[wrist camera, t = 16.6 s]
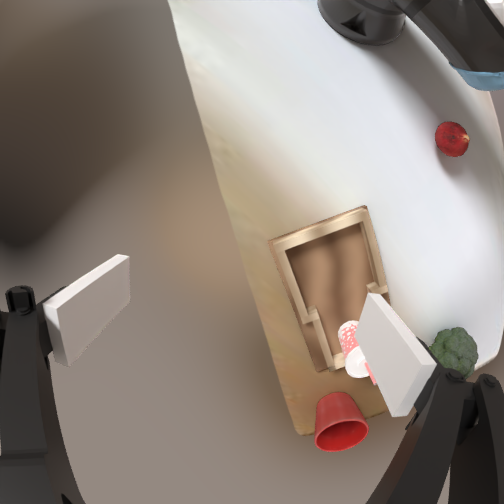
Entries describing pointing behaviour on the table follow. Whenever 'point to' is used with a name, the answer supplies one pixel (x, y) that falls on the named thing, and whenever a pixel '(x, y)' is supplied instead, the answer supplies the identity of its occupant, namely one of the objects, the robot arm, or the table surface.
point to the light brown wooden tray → (330, 278)
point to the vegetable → (456, 350)
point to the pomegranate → (452, 139)
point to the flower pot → (339, 423)
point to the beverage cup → (353, 352)
